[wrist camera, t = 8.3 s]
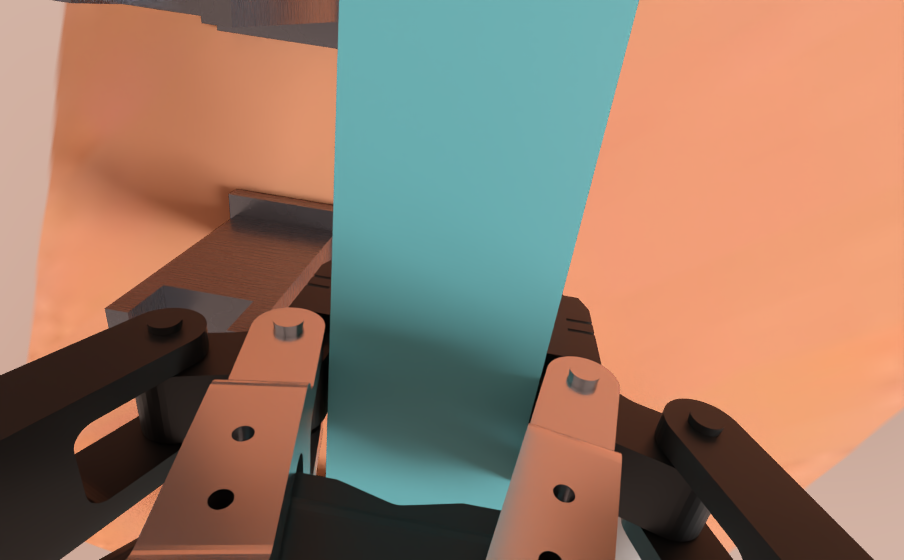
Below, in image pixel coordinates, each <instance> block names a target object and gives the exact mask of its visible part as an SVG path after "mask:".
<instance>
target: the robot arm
mask: <svg viewBox="0 0 904 560" xmlns="http://www.w3.org/2000/svg"><path fill="white" fill-rule="evenodd" d="M331 274H332V260H330V261H328V262H326V263H324V264H322V265H321V266H320V268H319V269H318V270H317V272H316V273H315V274H314V277H312V278H311V279H310V280H309V282H308V284H307V285H306V286H305V287H304V288H303V289H302V291H301V292H300V293H299V294H298V296H297V297H296V298H295V299H294V301H293V302H292V303H291V305H290V306H289V307H288V308H279V309H274V310H270V311H268V312H265V313H263V314H261V315H260V316H258V317H257V318H256V319H255V320H254V321H253V323H252V324H251V327H250V329H249V331H245V332H221V333H208V329H207V321H206V319H205V317H204V316H203V315H202V314H200V313H198V312H196V311H194V310H190V309H185V308H164V309H157V310H153V311H149V312H146V313H143V314H141V315H139V316H136V317H134V318H132V319H129V320H127V321H125V322H122V323H120V324H118V325H115V326H113V327H111V328H109V329H106V330H104V331H102V332H99V333H97V334H95V335H92V336H90V337H88V338H86V339H83V340H81V341H79V342H76V343H74V344H72V345H69V346H67V347H65V348H62V349H60V350H58V351H56V352H53V353H51V354H49V355H46V356H44V357H42V358H39V359H37V360H35V361H32V362H30V363H28V364H26V365H23V366H21V367H19V368H17V369H14V370H12V371H9V372H7V373H5V374H2V375H0V560H60V559H62V558H63V557H64V556H65V555H67V554H68V553H70V552H71V551H72V550H74V549H75V548H76V547H78V546H79V545H80V544H82V543H83V542H85V541H86V540H87V539H89V538H90V537H91V536H93V535H94V534H95V533H97V532H98V531H100V530H101V529H102V528H104V527H105V526H106V525H108V524H109V523H110V522H112V521H113V520H115V519H116V518H117V517H119V516H120V515H121V514H123V513H124V512H125V511H127V510H128V509H129V508H131V507H132V506H134V505H135V504H136V503H138V502H139V501H140V500H142V499H143V498H144V497H146V496H147V495H149V494H150V493H151V492H153V491H154V490H155V489H157V488H158V487H159V486H161V485H162V484H163V483H164V484H163V486H162V488H161V491H160V493H159V495H158V497H157V499H156V501H155V503H154V506H153V508H152V510H151V512H150V514H149V516H148V518H147V521H146V523H145V525H144V527H143V529H142V531H141V533H140V536H139V538H137V539H135V540H133V541H132V542H130V543H128V544H126V545H124V546H123V547H121V548H119V549H117V550H115V551H114V552H112V553H110V554H108V555H107V556H105V557H103V558H101V559H99V560H615V554H616V540H617V526H618V517H620V518H621V524H622V527H623V529H624V531H625V533H626V535H627V537H628V538H629V540H630V542H631V543H632V545H633V547H634V548H635V550H636V552H637V553H638V555H639V557H640V558H641V560H733V559H732V557H731V556H730V555H729V553H728V552H727V551H726V549H725V548H724V547H723V545H722V544H721V543H720V541H719V540H718V539H717V538H716V536H715V535H714V534H713V532H712V531H711V530H710V528H709V527H708V526H707V524H706V521H707V519H708V517H709V515H710V514H712V516H713V517H714V518H715V519H716V521H717V522H718V523H719V524H720V526H721V527H722V528H723V530H724V531H725V532H726V533H727V535H728V536H729V537H730V539H731V540H732V541H733V542H734V544H735V545H736V547H737V548H738V550H739V552H740V554H741V556H742V559H743V560H874V559H873V558H872V557H871V556H869V554H868V553H867V552H866V551H865V550H864V549H863V548H862V547H861V546H860V545H859V544H858V543H857V542H856V541H855V540H854V539H853V538H852V537H851V536H849V534H848V533H847V532H846V531H845V530H844V529H843V528H842V527H841V526H840V525H838V524H837V522H836V521H835V520H834V519H832V517H831V516H829V514H828V513H827V512H826V511H825V510H824V509H823V508H822V507H820V505H819V504H817V502H816V501H815V500H814V499H813V498H812V497H811V496H810V495H809V494H808V493H807V492H806V491H805V490H804V489H803V488H802V487H801V486H800V485H799V484H798V483H797V482H796V481H795V480H794V479H793V478H792V477H791V476H790V475H789V474H788V473H787V472H786V471H785V470H784V469H783V468H782V467H781V466H780V465H779V464H778V463H777V462H776V461H775V460H774V459H773V458H772V457H771V456H770V455H769V454H768V453H767V452H766V451H765V450H764V449H763V448H762V447H761V446H760V445H759V444H758V443H757V442H756V441H755V440H754V439H753V438H752V437H751V436H750V435H749V434H748V433H747V432H746V431H745V430H744V429H743V428H742V427H741V426H740V425H739V424H738V423H737V422H736V421H735V420H733V419H732V418H731V417H730V416H729V415H727V414H726V413H724V412H723V411H721V410H720V409H718V408H716V407H714V406H712V405H709V404H707V403H704V402H701V401H697V400H693V399H676V400H673V401H670V402H669V403H667V405H666V406H665V408H664V410H663V413H660V412H657V411H655V410H652V409H650V408H647V407H645V406H642V405H639V404H637V403H635V402H633V401H631V400H629V399H627V398H625V397H624V396H622V395H621V394H620V385H619V382H618V380H617V379H616V377H615V376H614V375H613V374H612V373H611V372H610V371H609V370H608V369H607V368H605V367H604V366H602V365H601V361H600V357H599V352H598V348H597V344H596V339H595V335H594V330H593V326H592V325H591V324H592V322H591V317H590V313H589V310H588V309H587V308H586V307H585V305H584V304H583V303H582V302H581V301H580V300H579V299H578V298H574V297H568V296H563V294H562V297H561V301H560V304H559V308H558V312H557V316H556V320H555V323H554V327H553V331H552V335H551V339H550V343H549V346H548V350H547V354H546V358H545V362H544V366H543V369H542V373H541V377H540V381H539V385H538V389H537V392H536V396H535V400H534V404H533V408H532V411H531V415H530V419H529V423H528V427H527V430H526V433H525V436H524V440H523V443H522V446H521V449H520V452H519V456H518V459H517V462H516V465H515V468H514V471H513V475H512V478H511V481H510V484H509V487H508V490H507V494H506V497H505V500H504V503H503V506H502V510H496V509H491V508H486V507H481V506H475V505H470V504H465V503H455V504H426V505H396V504H392V503H390V502H387V501H385V500H383V499H381V498H378V497H376V496H374V495H372V494H369V493H367V492H365V491H362V490H360V489H358V488H356V487H353V486H351V485H349V484H347V483H344V482H342V481H340V480H338V479H333V478H327V477H322V476H317V475H316V471H317V465H318V458H319V452H320V446H321V440H322V433H323V420H324V418H325V416H326V414H327V412H328V382H329V346H330V310H331ZM134 398H136V403H137V409H138V414H139V416H138V417H137V418H135V419H133V420H131V421H130V422H128V423H126V424H125V425H123V426H121V427H120V428H118V429H116V430H115V431H113V432H111V433H110V434H108V435H106V436H105V437H103V438H101V439H100V440H98V441H96V442H95V443H93V444H91V445H90V446H88V447H86V448H85V449H83V450H81V451H80V452H78V453H76V454H74V444H75V441H76V439H77V437H78V435H79V434H80V433H81V431H82V430H83V429H84V428H85V427H86V426H87V425H89V424H90V423H91V422H93V421H95V420H96V419H98V418H100V417H102V416H104V415H105V414H107V413H109V412H111V411H112V410H114V409H116V408H118V407H120V406H121V405H123V404H125V403H127V402H128V401H130V400H132V399H134Z"/></svg>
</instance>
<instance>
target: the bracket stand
mask: <svg viewBox="0 0 904 560" xmlns="http://www.w3.org/2000/svg"><path fill="white" fill-rule="evenodd" d="M55 1H61V2H68V3H95V4H126V5H133V6H140V7H146V8H153V9H159V10H166V11H172V12H179V13H186V14H192V15H199V16H201V21H202V23H205V24H211V25H217V30H219V31H225V32H232V33H238V34H245V35H251V36H258V37H264V38H271V39H277V40H284V41H290V42H297V43H303V44H310V45H317V46H323V47H330V48H336V49H338V23H339V0H55ZM229 205H230V220H228V221H227V222H225V223H224V224H223V225H221V226H220V227H218V228H217V229H216V230H214V231H213V232H211V233H210V234H209V235H207V236H206V237H204V238H203V239H202V240H200V241H199V242H197V243H196V244H195V245H193V246H192V247H190V248H189V249H187V250H186V251H185V252H183V253H182V254H180V255H179V256H178V257H176V258H175V259H173V260H172V261H171V262H169V263H168V264H166V265H165V266H164V267H162V268H161V269H159V270H158V271H157V272H155V273H154V274H152V275H151V276H150V277H148V278H147V279H145V280H144V281H143V282H141V283H140V284H138V285H137V286H136V287H134V288H133V289H131V290H130V291H129V292H127V293H126V294H124V295H123V296H122V297H120V298H119V299H117V300H116V301H115V302H113V303H112V304H110V305H109V306H108V307H106V308H105V312H106V317H107V322H108V327H109V328H111V327H113V326H115V325H118V324H120V323H122V322H125V321H127V320H129V319H132V318H134V317H136V316H139V315H141V314H143V313H146V312H149V311H153V310H157V309H164V308H185V309H190V310H194V311H196V312H198V313H200V314H202V315H203V316H204V317H205V319H206V321H207V329H208V333H221V332H245V331H249V329H250V327H251V324H252V323H253V321H254V320H255V319H256V318H257V317H258V316H260V315H261V314H263V313H265V312H268V311H270V310H274V309H279V308H288V307H289V306H290V305H291V303H292V302H293V301H294V299H295V298H296V297H297V296H298V294H299V293H300V292H301V291H302V289H303V288H304V287H305V286H306V285H307V284H308V282H309V280H310V279H311V278H312V277H314V274H315V273H316V272H317V270H318V269H319V268H320V266H321V265H322V264H324V263H326V262H328V261H330V260H332V238H333V205H329V204H323V203H317V202H311V201H305V200H299V199H293V198H287V197H281V196H275V195H269V194H263V193H257V192H251V191H245V190H239V189H236V190H234V191H233V192H231V193H230V194H229Z"/></svg>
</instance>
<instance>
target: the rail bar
mask: <svg viewBox="0 0 904 560" xmlns="http://www.w3.org/2000/svg"><path fill="white" fill-rule="evenodd" d="M638 2H639V0H339V23H338V59H337V95H336V131H335V167H334V203H333V238H332V274H331V310H330V346H329V382H328V418H327V454H326V477H327V478H333V479H338V480H340V481H342V482H344V483H347V484H349V485H351V486H353V487H356V488H358V489H360V490H362V491H365V492H367V493H369V494H372V495H374V496H376V497H378V498H381V499H383V500H385V501H387V502H390V503H392V504H396V505H426V504H455V503H465V504H470V505H475V506H481V507H486V508H491V509H496V510H502V506H503V503H504V500H505V497H506V494H507V490H508V487H509V484H510V481H511V478H512V475H513V471H514V468H515V465H516V462H517V459H518V456H519V452H520V449H521V446H522V443H523V440H524V436H525V433H526V430H527V427H528V423H529V419H530V415H531V411H532V408H533V404H534V400H535V396H536V392H537V389H538V385H539V381H540V377H541V373H542V369H543V366H544V362H545V358H546V354H547V350H548V346H549V343H550V339H551V335H552V331H553V327H554V323H555V320H556V316H557V312H558V308H559V304H560V301H561V297H562V293H563V289H564V285H565V281H566V278H567V274H568V270H569V266H570V262H571V258H572V255H573V251H574V247H575V243H576V239H577V235H578V232H579V228H580V224H581V220H582V216H583V213H584V209H585V205H586V201H587V197H588V193H589V190H590V186H591V182H592V178H593V174H594V170H595V167H596V163H597V159H598V155H599V151H600V147H601V144H602V140H603V136H604V132H605V128H606V125H607V121H608V117H609V113H610V109H611V105H612V102H613V98H614V94H615V90H616V86H617V82H618V79H619V75H620V71H621V67H622V63H623V59H624V56H625V52H626V48H627V44H628V40H629V37H630V33H631V29H632V25H633V21H634V17H635V14H636V10H637V6H638Z"/></svg>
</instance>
